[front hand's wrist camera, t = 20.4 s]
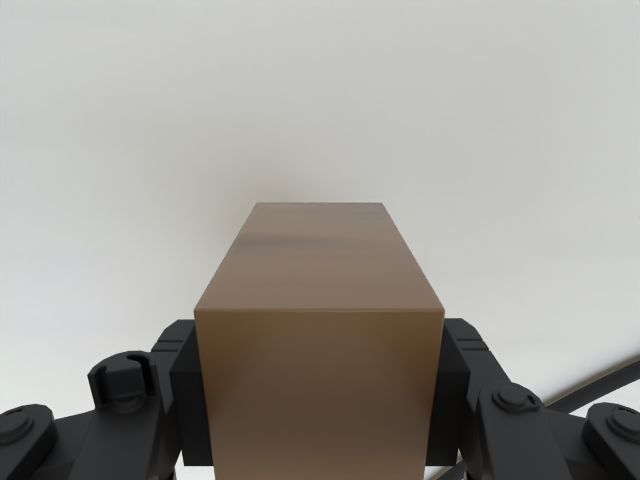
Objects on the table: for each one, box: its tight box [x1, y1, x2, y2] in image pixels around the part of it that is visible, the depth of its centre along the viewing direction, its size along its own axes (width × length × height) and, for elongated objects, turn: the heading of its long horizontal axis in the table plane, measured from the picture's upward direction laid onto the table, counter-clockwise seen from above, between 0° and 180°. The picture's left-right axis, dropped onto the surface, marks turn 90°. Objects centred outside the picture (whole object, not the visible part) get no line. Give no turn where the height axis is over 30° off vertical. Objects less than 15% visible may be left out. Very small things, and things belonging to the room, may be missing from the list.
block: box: [194, 203, 445, 480], centre depth 12 cm, size 6×5×8 cm
